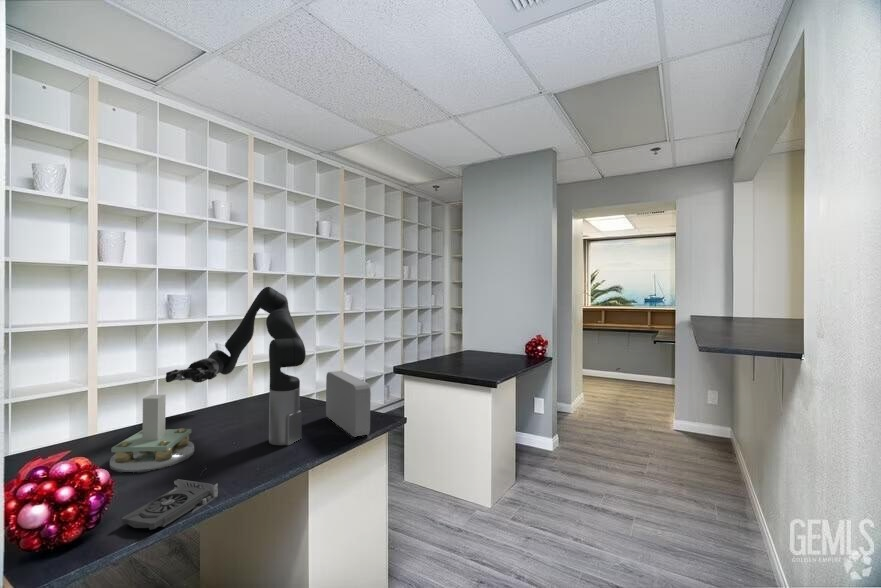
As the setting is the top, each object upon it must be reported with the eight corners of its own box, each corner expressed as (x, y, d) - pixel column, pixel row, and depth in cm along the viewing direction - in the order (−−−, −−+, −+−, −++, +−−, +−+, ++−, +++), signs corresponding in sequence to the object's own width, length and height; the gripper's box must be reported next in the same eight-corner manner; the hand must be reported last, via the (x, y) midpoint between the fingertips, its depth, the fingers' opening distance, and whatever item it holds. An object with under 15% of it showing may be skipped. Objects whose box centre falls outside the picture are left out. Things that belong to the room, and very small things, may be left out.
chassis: (205, 443, 130) (206, 422, 130) (172, 471, 110) (173, 447, 110) (137, 445, 127) (137, 424, 127) (91, 474, 107) (91, 449, 107)
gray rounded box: (376, 436, 139) (377, 383, 139) (355, 440, 135) (356, 386, 134) (344, 414, 162) (345, 368, 162) (325, 417, 158) (326, 370, 158)
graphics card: (178, 476, 101) (218, 482, 98) (178, 491, 101) (219, 497, 98) (107, 514, 84) (154, 521, 81) (108, 532, 84) (154, 540, 82)
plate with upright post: (191, 432, 126) (191, 390, 126) (166, 450, 113) (167, 403, 112) (142, 433, 125) (142, 390, 125) (111, 452, 111) (111, 403, 111)
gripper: (182, 359, 148) (158, 367, 132) (224, 359, 150) (205, 367, 134) (182, 380, 148) (157, 391, 132) (224, 379, 150) (205, 390, 134)
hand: (181, 378), depth 133 cm, fingers open, 8 cm apart
